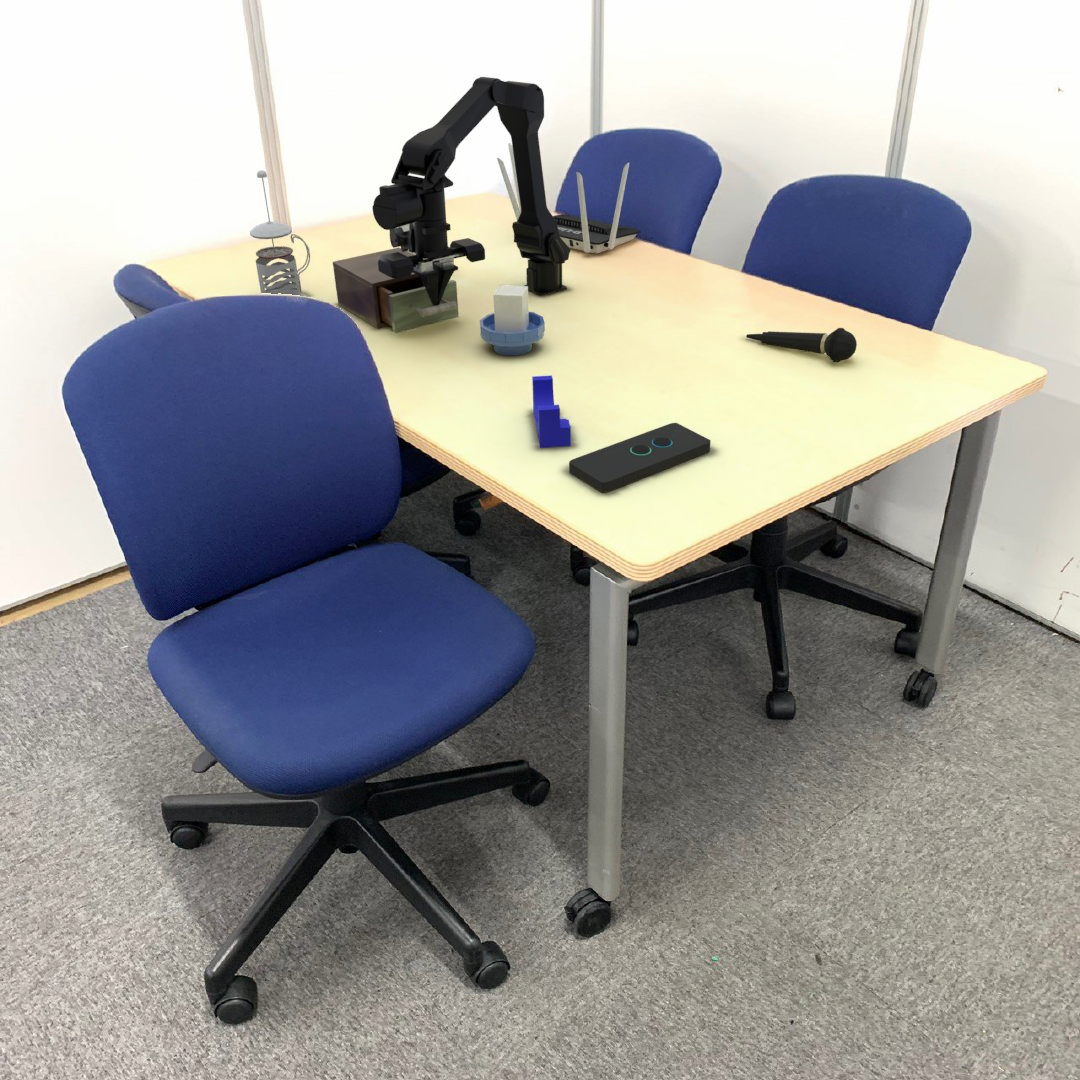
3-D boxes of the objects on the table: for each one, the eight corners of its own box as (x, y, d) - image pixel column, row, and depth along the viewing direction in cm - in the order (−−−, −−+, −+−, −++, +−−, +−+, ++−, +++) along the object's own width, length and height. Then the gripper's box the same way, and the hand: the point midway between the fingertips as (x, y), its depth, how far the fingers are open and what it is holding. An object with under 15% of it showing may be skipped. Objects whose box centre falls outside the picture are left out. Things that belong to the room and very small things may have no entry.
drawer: (473, 324, 189) (471, 288, 185) (409, 341, 183) (405, 304, 179) (418, 295, 203) (415, 261, 200) (357, 309, 197) (352, 275, 193)
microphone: (742, 358, 183) (850, 370, 171) (737, 331, 179) (846, 342, 167) (756, 340, 185) (863, 351, 173) (751, 313, 182) (859, 322, 170)
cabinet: (444, 311, 198) (441, 267, 193) (377, 328, 191) (372, 283, 186) (403, 289, 209) (399, 247, 205) (338, 304, 202) (332, 261, 198)
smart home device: (713, 440, 146) (604, 483, 136) (712, 451, 147) (603, 494, 137) (674, 420, 152) (566, 459, 142) (673, 431, 152) (566, 470, 143)
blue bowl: (521, 331, 188) (520, 305, 185) (557, 349, 180) (556, 323, 177) (469, 346, 182) (467, 319, 180) (504, 365, 175) (502, 338, 172)
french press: (253, 295, 208) (230, 168, 194) (309, 287, 211) (291, 161, 198) (261, 311, 200) (238, 179, 187) (320, 301, 204) (302, 171, 190)
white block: (501, 324, 182) (499, 284, 178) (529, 325, 181) (527, 286, 177) (495, 334, 178) (493, 294, 174) (523, 336, 177) (522, 295, 173)
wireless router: (661, 243, 232) (665, 151, 221) (598, 269, 217) (599, 171, 206) (547, 219, 250) (546, 133, 240) (483, 241, 236) (478, 151, 225)
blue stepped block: (570, 446, 149) (570, 408, 146) (539, 447, 149) (538, 410, 146) (562, 410, 159) (561, 374, 156) (533, 412, 159) (532, 376, 156)
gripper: (452, 199, 186) (457, 284, 194) (359, 216, 177) (368, 303, 186) (484, 212, 178) (488, 299, 187) (389, 230, 169) (397, 320, 178)
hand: (435, 305), depth 184 cm, fingers closed, pressing on drawer
